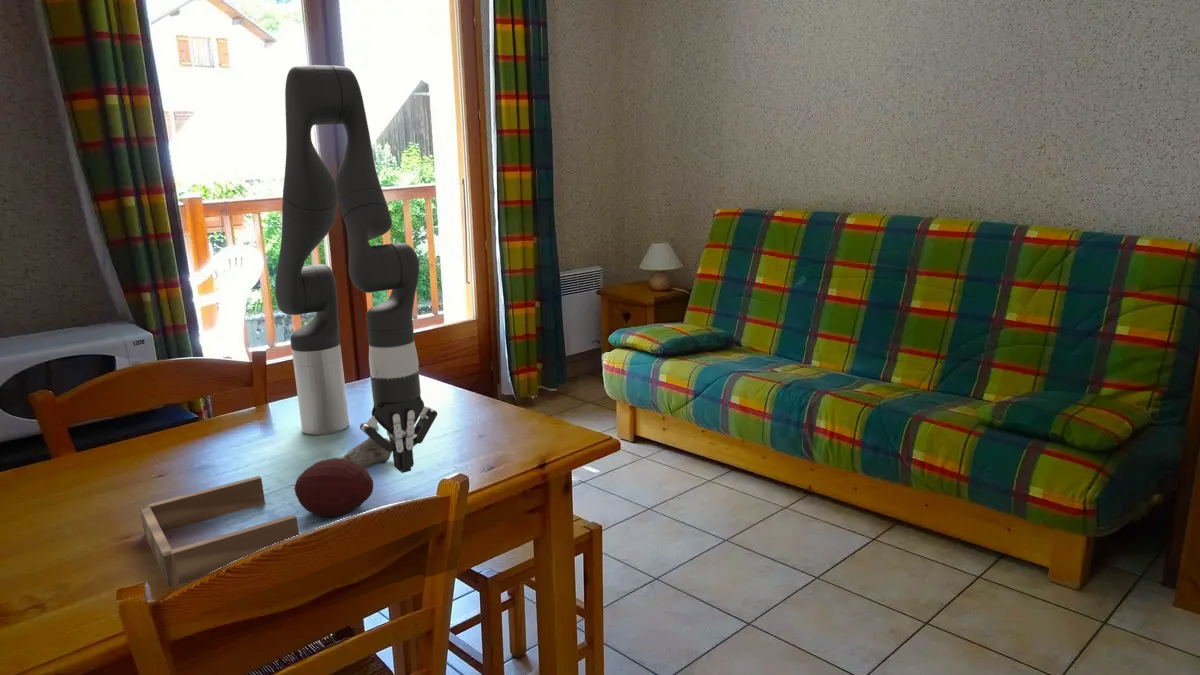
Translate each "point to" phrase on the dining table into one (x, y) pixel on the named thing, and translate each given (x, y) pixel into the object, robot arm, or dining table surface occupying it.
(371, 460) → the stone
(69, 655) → the dining table surface
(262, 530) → the corral
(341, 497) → the potato
